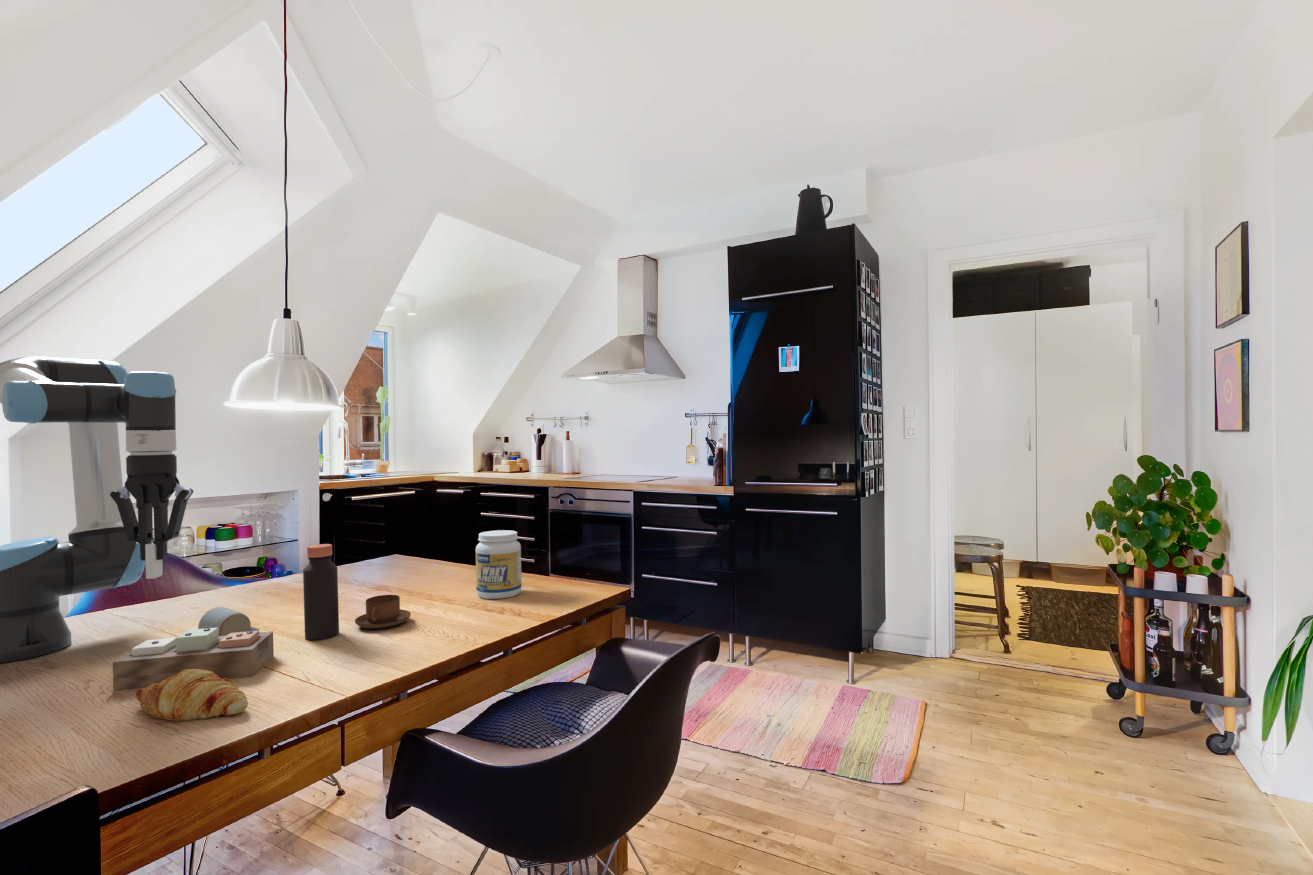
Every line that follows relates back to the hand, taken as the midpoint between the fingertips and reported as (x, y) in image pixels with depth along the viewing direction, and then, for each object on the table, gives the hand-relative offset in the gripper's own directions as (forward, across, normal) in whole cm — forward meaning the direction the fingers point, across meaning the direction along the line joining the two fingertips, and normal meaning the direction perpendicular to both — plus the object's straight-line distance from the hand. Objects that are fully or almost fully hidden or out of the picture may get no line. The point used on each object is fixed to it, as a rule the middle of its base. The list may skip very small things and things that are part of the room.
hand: (154, 576), depth 121 cm
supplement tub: (+18, +63, +39) cm, 76 cm away
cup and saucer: (+18, +37, +19) cm, 46 cm away
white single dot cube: (+15, +2, -3) cm, 16 cm away
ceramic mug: (+19, +7, +16) cm, 26 cm away
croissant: (+18, +16, -23) cm, 33 cm away
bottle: (+18, +25, +14) cm, 34 cm away
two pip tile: (+14, +8, -3) cm, 17 cm away
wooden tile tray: (+18, +8, -3) cm, 20 cm away
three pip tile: (+15, +16, -3) cm, 22 cm away
